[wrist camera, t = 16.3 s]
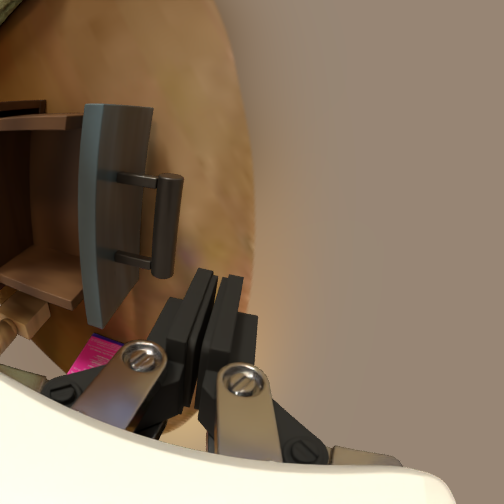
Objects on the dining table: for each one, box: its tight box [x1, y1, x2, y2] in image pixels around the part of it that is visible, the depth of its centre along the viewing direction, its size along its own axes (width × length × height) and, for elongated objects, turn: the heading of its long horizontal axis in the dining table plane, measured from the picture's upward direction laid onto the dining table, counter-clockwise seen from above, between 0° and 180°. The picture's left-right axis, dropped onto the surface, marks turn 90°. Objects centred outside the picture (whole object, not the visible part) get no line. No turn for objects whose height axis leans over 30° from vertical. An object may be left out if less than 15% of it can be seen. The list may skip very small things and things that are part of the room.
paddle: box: [0, 290, 51, 355], centre depth 22 cm, size 5×2×10 cm, turn 79°
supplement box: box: [67, 333, 124, 374], centre depth 23 cm, size 6×6×12 cm
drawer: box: [0, 104, 184, 329], centre depth 17 cm, size 15×13×7 cm
